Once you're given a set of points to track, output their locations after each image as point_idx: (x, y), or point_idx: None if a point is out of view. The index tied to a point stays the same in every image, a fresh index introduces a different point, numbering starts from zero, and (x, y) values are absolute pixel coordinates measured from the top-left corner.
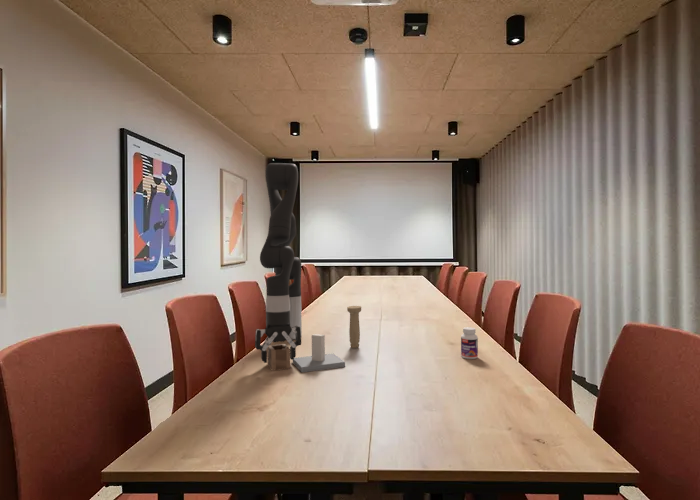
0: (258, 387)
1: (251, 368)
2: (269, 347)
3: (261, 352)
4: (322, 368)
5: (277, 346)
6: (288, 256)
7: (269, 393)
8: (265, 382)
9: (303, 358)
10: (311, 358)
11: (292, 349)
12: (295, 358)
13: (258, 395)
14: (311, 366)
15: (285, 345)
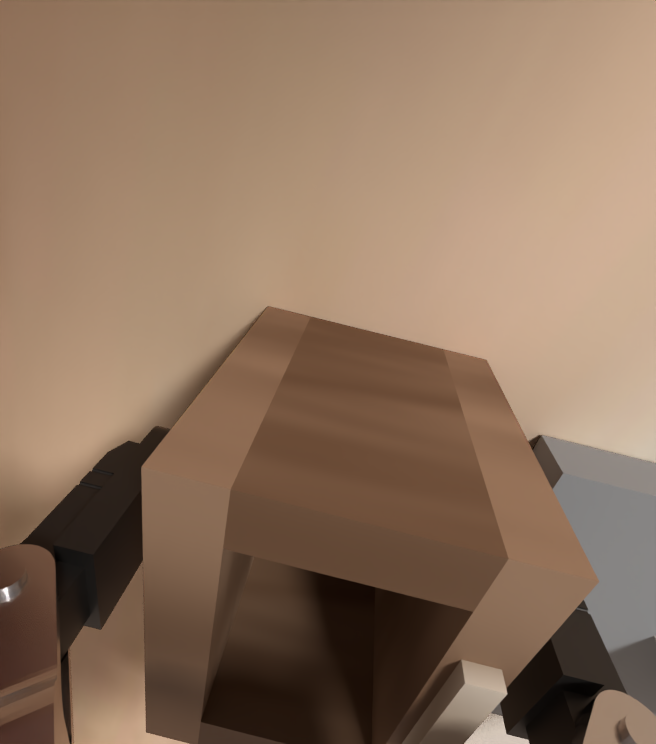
0: (88, 663)
1: (67, 339)
2: (152, 605)
3: (44, 536)
4: None
5: (364, 563)
6: None
7: (128, 722)
8: (135, 639)
9: (645, 557)
10: None
11: (516, 711)
12: (575, 505)
13: (79, 712)
14: (499, 710)
15: (456, 728)
